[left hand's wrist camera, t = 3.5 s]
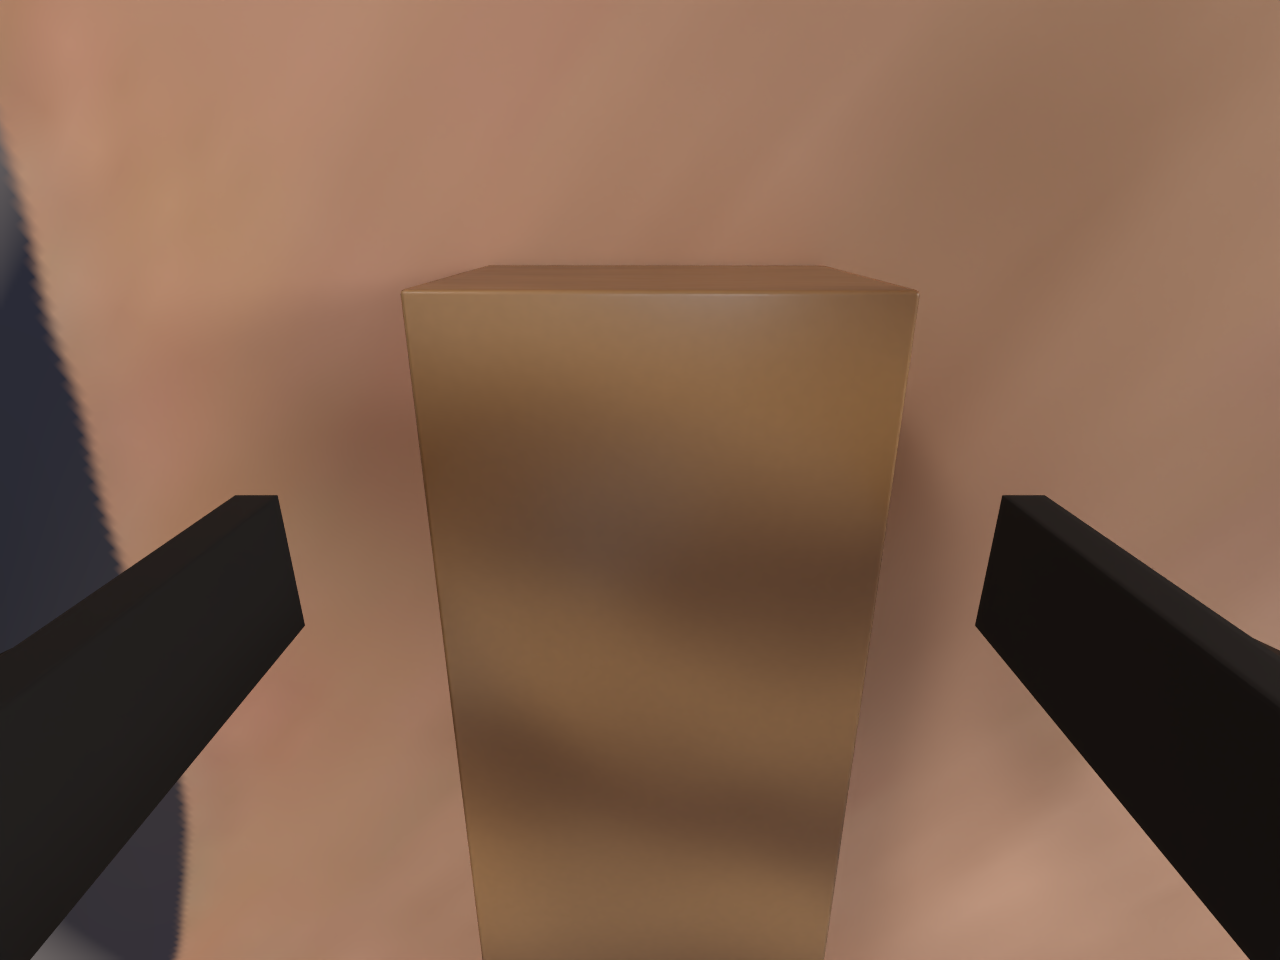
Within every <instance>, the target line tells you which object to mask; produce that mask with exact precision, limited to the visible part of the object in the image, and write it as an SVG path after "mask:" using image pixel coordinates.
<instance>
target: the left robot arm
mask: <svg viewBox="0 0 1280 960" xmlns="http://www.w3.org/2000/svg"><path fill="white" fill-rule="evenodd" d="M304 626H305V624H304V619H303V614H302V609H301V605H300V600H299V595H298V590H297V586H296V581H295V576H294V571H293V567H292V562H291V557H290V552H289V547H288V543H287V538H286V533H285V528H284V524H283V519H282V514H281V509H280V505H279V500H278V495H235V496H234V497H232V498H231V499H229V500H228V501H226V502H225V503H223V504H222V505H221V506H219V507H218V508H216V509H215V510H213V511H212V512H210V513H209V514H207V515H206V516H204V517H203V518H202V519H200V520H199V521H197V522H196V523H194V524H193V525H191V526H190V527H188V528H187V529H186V530H184V531H183V532H181V533H180V534H178V535H177V536H175V537H174V538H172V539H171V540H170V541H168V542H167V543H165V544H164V545H162V546H161V547H159V548H158V549H156V550H155V551H153V552H152V553H151V554H149V555H148V556H146V557H145V558H143V559H142V560H140V561H139V562H137V563H136V564H135V565H133V566H132V567H130V568H129V569H127V570H126V571H124V572H123V573H121V574H120V575H118V576H117V577H116V578H114V579H113V580H111V581H110V582H108V583H107V584H105V585H104V586H102V587H101V588H100V589H98V590H97V591H95V592H94V593H92V594H91V595H89V596H88V597H86V598H85V599H84V600H82V601H81V602H79V603H78V604H76V605H75V606H73V607H72V608H70V609H69V610H68V611H66V612H65V613H63V614H62V615H60V616H59V617H57V618H56V619H54V620H53V621H51V622H50V623H49V624H47V625H46V626H44V627H43V628H41V629H40V630H38V631H37V632H35V633H34V634H33V635H31V636H30V637H28V638H27V639H25V640H24V641H22V642H21V643H19V644H18V645H16V646H15V647H14V648H11V649H9V650H7V651H5V652H3V653H1V654H0V960H30V959H31V958H32V957H33V956H34V954H35V953H36V952H37V951H38V950H39V948H40V947H41V946H42V945H43V943H44V942H45V941H46V940H47V939H48V937H49V936H50V935H51V934H52V933H53V931H54V930H55V929H56V928H57V926H58V925H59V924H60V923H61V922H62V920H63V919H64V918H65V917H66V916H67V914H68V913H69V912H70V911H71V909H72V908H73V907H74V906H75V904H76V903H77V902H78V901H79V900H80V898H81V897H82V896H83V895H84V893H85V892H86V891H87V890H88V889H89V887H90V886H91V885H92V884H93V883H94V881H95V880H96V879H97V878H98V877H99V875H100V874H101V873H102V872H103V870H104V869H105V868H106V867H107V866H108V864H109V863H110V862H111V861H112V860H113V858H114V857H115V856H116V855H117V853H118V852H119V851H120V850H121V849H122V847H123V846H124V845H125V844H126V842H127V841H128V840H129V839H130V838H131V836H132V835H133V834H134V833H135V832H136V830H137V829H138V828H139V827H140V825H141V824H142V823H143V822H144V821H145V819H146V818H147V817H148V816H149V815H150V813H151V812H152V811H153V810H154V808H155V807H156V806H157V805H158V804H159V802H160V801H161V800H162V799H163V797H164V796H165V795H166V794H167V793H168V791H169V790H170V789H171V788H172V787H173V785H174V784H175V783H176V782H177V780H178V779H179V778H180V777H181V776H182V774H183V773H184V772H185V771H186V770H187V768H188V767H189V766H190V765H191V763H192V762H193V761H194V760H195V759H196V757H197V756H198V755H199V754H200V752H201V751H202V750H203V749H204V748H205V746H206V745H207V744H208V743H209V742H210V740H211V739H212V738H213V737H214V735H215V734H216V733H217V732H218V731H219V729H220V728H221V727H222V726H223V724H224V723H225V722H226V721H227V720H228V718H229V717H230V716H231V715H232V714H233V712H234V711H235V710H236V709H237V707H238V706H239V705H240V704H241V703H242V701H243V700H244V699H245V698H246V697H247V695H248V694H249V693H250V692H251V690H252V689H253V688H254V687H255V686H256V684H257V683H258V682H259V681H260V679H261V678H262V677H263V676H264V675H265V673H266V672H267V671H268V670H269V669H270V667H271V666H272V665H273V664H274V662H275V661H276V660H277V659H278V658H279V656H280V655H281V654H282V653H283V651H284V650H285V649H286V648H287V647H288V645H289V644H290V643H291V642H292V641H293V639H294V638H295V637H296V636H297V634H298V633H299V632H300V631H301V630H302V628H303V627H304ZM975 626H976V627H977V628H978V630H979V631H980V632H981V633H982V634H983V636H984V637H985V638H986V639H987V641H988V642H989V643H990V644H991V645H992V647H993V648H994V649H995V650H996V651H997V653H998V654H999V655H1000V656H1001V658H1002V659H1003V660H1004V661H1005V662H1006V664H1007V665H1008V666H1009V667H1010V669H1011V670H1012V671H1013V672H1014V673H1015V675H1016V676H1017V677H1018V678H1019V679H1020V681H1021V682H1022V683H1023V684H1024V686H1025V687H1026V688H1027V689H1028V690H1029V692H1030V693H1031V694H1032V695H1033V697H1034V698H1035V699H1036V700H1037V701H1038V703H1039V704H1040V705H1041V706H1042V707H1043V709H1044V710H1045V711H1046V712H1047V714H1048V715H1049V716H1050V717H1051V718H1052V720H1053V721H1054V722H1055V723H1056V724H1057V726H1058V727H1059V728H1060V729H1061V731H1062V732H1063V733H1064V734H1065V735H1066V737H1067V738H1068V739H1069V740H1070V742H1071V743H1072V744H1073V745H1074V746H1075V748H1076V749H1077V750H1078V751H1079V752H1080V754H1081V755H1082V756H1083V757H1084V759H1085V760H1086V761H1087V762H1088V763H1089V765H1090V766H1091V767H1092V768H1093V770H1094V771H1095V772H1096V773H1097V774H1098V776H1099V777H1100V778H1101V779H1102V780H1103V782H1104V783H1105V784H1106V785H1107V787H1108V788H1109V789H1110V790H1111V791H1112V793H1113V794H1114V795H1115V796H1116V797H1117V799H1118V800H1119V801H1120V802H1121V804H1122V805H1123V806H1124V807H1125V808H1126V810H1127V811H1128V812H1129V813H1130V815H1131V816H1132V817H1133V818H1134V819H1135V821H1136V822H1137V823H1138V824H1139V825H1140V827H1141V828H1142V829H1143V830H1144V832H1145V833H1146V834H1147V835H1148V836H1149V838H1150V839H1151V840H1152V841H1153V843H1154V844H1155V845H1156V846H1157V847H1158V849H1159V850H1160V851H1161V852H1162V853H1163V855H1164V856H1165V857H1166V858H1167V860H1168V861H1169V862H1170V863H1171V864H1172V866H1173V867H1174V868H1175V869H1176V870H1177V872H1178V873H1179V874H1180V875H1181V877H1182V878H1183V879H1184V880H1185V881H1186V883H1187V884H1188V885H1189V886H1190V888H1191V889H1192V890H1193V891H1194V892H1195V894H1196V895H1197V896H1198V897H1199V898H1200V900H1201V901H1202V902H1203V903H1204V905H1205V906H1206V907H1207V908H1208V909H1209V911H1210V912H1211V913H1212V914H1213V916H1214V917H1215V918H1216V919H1217V920H1218V922H1219V923H1220V924H1221V925H1222V926H1223V928H1224V929H1225V930H1226V931H1227V933H1228V934H1229V935H1230V936H1231V937H1232V939H1233V940H1234V941H1235V942H1236V943H1237V945H1238V946H1239V947H1240V948H1241V950H1242V951H1243V952H1244V953H1245V954H1246V956H1247V957H1248V958H1249V959H1250V960H1280V651H1279V650H1277V649H1275V648H1273V647H1271V646H1269V645H1266V644H1264V643H1262V642H1260V641H1258V640H1256V639H1254V638H1252V637H1250V636H1249V635H1248V634H1246V633H1245V632H1243V631H1242V630H1240V629H1239V628H1237V627H1236V626H1234V625H1233V624H1231V623H1230V622H1229V621H1227V620H1226V619H1224V618H1223V617H1221V616H1220V615H1218V614H1217V613H1215V612H1214V611H1213V610H1211V609H1210V608H1208V607H1207V606H1205V605H1204V604H1202V603H1201V602H1199V601H1198V600H1196V599H1195V598H1194V597H1192V596H1191V595H1189V594H1188V593H1186V592H1185V591H1183V590H1182V589H1180V588H1179V587H1178V586H1176V585H1175V584H1173V583H1172V582H1170V581H1169V580H1167V579H1166V578H1164V577H1163V576H1162V575H1160V574H1159V573H1157V572H1156V571H1154V570H1153V569H1151V568H1150V567H1148V566H1147V565H1145V564H1144V563H1143V562H1141V561H1140V560H1138V559H1137V558H1135V557H1134V556H1132V555H1131V554H1129V553H1128V552H1127V551H1125V550H1124V549H1122V548H1121V547H1119V546H1118V545H1116V544H1115V543H1113V542H1112V541H1110V540H1109V539H1108V538H1106V537H1105V536H1103V535H1102V534H1100V533H1099V532H1097V531H1096V530H1094V529H1093V528H1092V527H1090V526H1089V525H1087V524H1086V523H1084V522H1083V521H1081V520H1080V519H1078V518H1077V517H1076V516H1074V515H1073V514H1071V513H1070V512H1068V511H1067V510H1065V509H1064V508H1062V507H1061V506H1059V505H1058V504H1057V503H1055V502H1054V501H1052V500H1051V499H1049V498H1048V497H1046V496H1045V495H1002V500H1001V505H1000V509H999V514H998V519H997V524H996V528H995V533H994V538H993V543H992V547H991V552H990V557H989V562H988V567H987V571H986V576H985V581H984V586H983V590H982V595H981V600H980V605H979V609H978V614H977V619H976V624H975Z"/></svg>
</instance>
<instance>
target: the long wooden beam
mask: <svg viewBox="0 0 1280 960" xmlns="http://www.w3.org/2000/svg"><path fill="white" fill-rule="evenodd" d="M401 301H402V309H403V317H404V325H405V333H406V341H407V349H408V358H409V366H410V374H411V382H412V390H413V398H414V406H415V414H416V423H417V431H418V439H419V447H420V455H421V463H422V471H423V480H424V488H425V496H426V504H427V512H428V520H429V528H430V536H431V545H432V553H433V561H434V569H435V577H436V585H437V593H438V602H439V610H440V618H441V626H442V634H443V642H444V650H445V659H446V667H447V675H448V683H449V691H450V699H451V707H452V715H453V724H454V732H455V740H456V748H457V756H458V764H459V772H460V781H461V789H462V797H463V805H464V813H465V821H466V829H467V837H468V846H469V854H470V862H471V870H472V878H473V886H474V894H475V903H476V911H477V919H478V927H479V935H480V943H481V951H482V959H483V960H824V956H825V949H826V942H827V935H828V928H829V921H830V914H831V907H832V900H833V893H834V886H835V879H836V872H837V865H838V859H839V852H840V845H841V838H842V831H843V824H844V817H845V810H846V803H847V796H848V789H849V782H850V775H851V768H852V761H853V754H854V747H855V740H856V733H857V726H858V719H859V712H860V706H861V699H862V692H863V685H864V678H865V671H866V664H867V657H868V650H869V643H870V636H871V629H872V622H873V615H874V608H875V601H876V594H877V587H878V580H879V573H880V566H881V560H882V553H883V546H884V539H885V532H886V525H887V518H888V511H889V504H890V497H891V490H892V483H893V476H894V469H895V462H896V455H897V448H898V441H899V434H900V427H901V420H902V413H903V407H904V400H905V393H906V386H907V379H908V372H909V365H910V358H911V351H912V344H913V337H914V330H915V323H916V316H917V309H918V302H919V291H917V290H914V289H910V288H906V287H902V286H899V285H895V284H891V283H887V282H883V281H879V280H876V279H872V278H868V277H864V276H860V275H857V274H853V273H849V272H845V271H841V270H838V269H834V268H830V267H826V266H486V267H482V268H479V269H475V270H472V271H468V272H464V273H461V274H457V275H454V276H450V277H447V278H443V279H439V280H436V281H432V282H429V283H425V284H422V285H418V286H415V287H411V288H407V289H404V290H402V292H401Z"/></svg>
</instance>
